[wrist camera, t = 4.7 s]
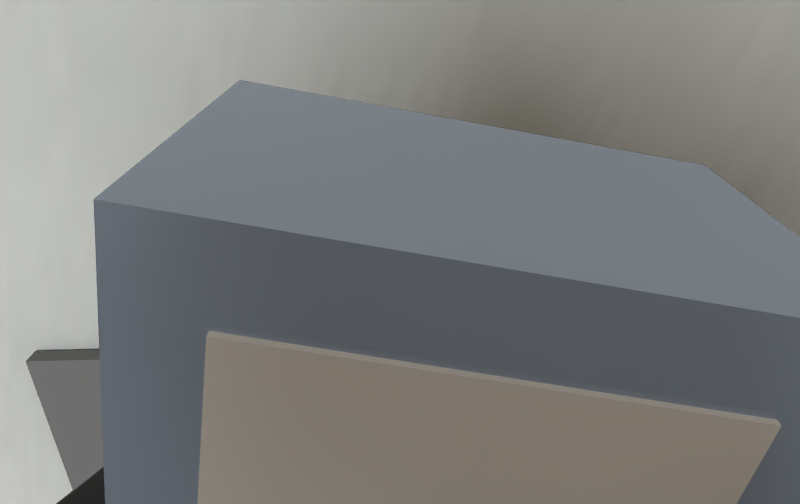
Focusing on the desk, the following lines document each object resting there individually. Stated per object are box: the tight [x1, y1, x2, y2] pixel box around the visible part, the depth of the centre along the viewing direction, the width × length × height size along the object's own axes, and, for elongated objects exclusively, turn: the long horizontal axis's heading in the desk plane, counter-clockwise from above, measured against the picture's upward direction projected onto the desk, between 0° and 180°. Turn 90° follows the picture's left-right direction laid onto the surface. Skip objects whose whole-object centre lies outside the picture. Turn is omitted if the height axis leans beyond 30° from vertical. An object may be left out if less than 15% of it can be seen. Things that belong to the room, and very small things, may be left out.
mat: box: [26, 349, 104, 490], centre depth 23 cm, size 16×10×1 cm, turn 92°
